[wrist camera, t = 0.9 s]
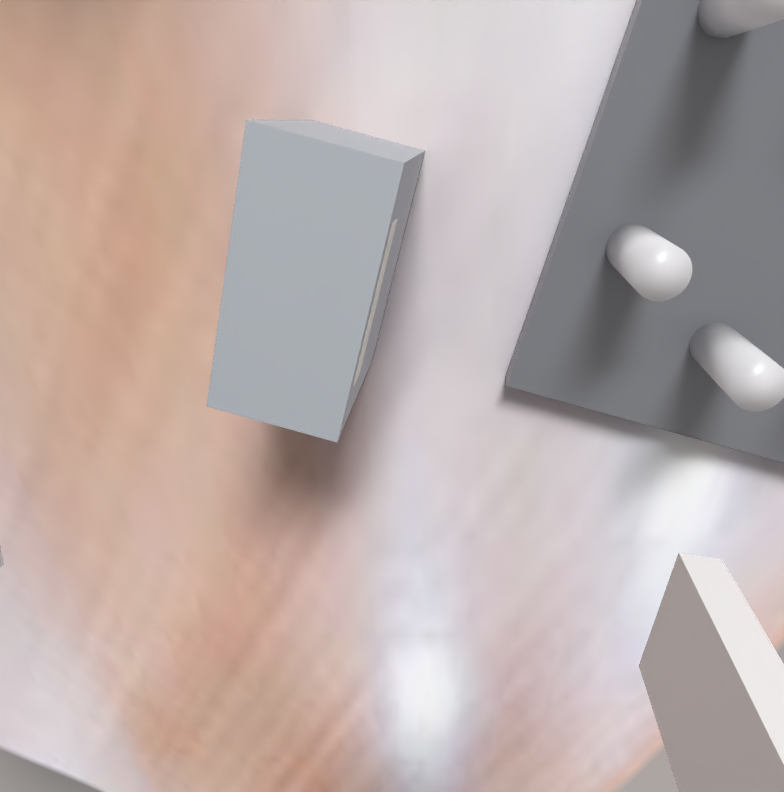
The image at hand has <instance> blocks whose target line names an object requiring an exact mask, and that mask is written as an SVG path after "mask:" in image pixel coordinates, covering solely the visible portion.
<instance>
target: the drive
mask: <svg viewBox="0 0 784 792" xmlns="http://www.w3.org/2000/svg"><path fill="white" fill-rule="evenodd" d="M424 152H425V151H424V150H421V149H417V148H413V147H410V146H406V145H402V144H398V143H395V142H391V141H387V140H384V139H380V138H376V137H373V136H369V135H365V134H362V133H358V132H354V131H351V130H347V129H343V128H340V127H336V126H332V125H329V124H325V123H321V122H318V121H314V120H246V126H245V133H244V140H243V147H242V154H241V162H240V169H239V176H238V183H237V191H236V198H235V205H234V212H233V220H232V227H231V234H230V241H229V249H228V256H227V263H226V270H225V278H224V285H223V292H222V299H221V307H220V314H219V321H218V328H217V336H216V343H215V350H214V357H213V365H212V372H211V379H210V386H209V394H208V401H207V407H211V408H214V409H218V410H221V411H225V412H229V413H232V414H236V415H239V416H243V417H247V418H250V419H254V420H257V421H261V422H265V423H268V424H272V425H276V426H279V427H283V428H286V429H290V430H294V431H297V432H301V433H304V434H308V435H312V436H315V437H319V438H323V439H326V440H330V441H333V442H338V440H339V437H340V435H341V433H342V430H343V428H344V426H345V423H346V421H347V418H348V416H349V414H350V411H351V409H352V407H353V404H354V402H355V400H356V397H357V395H358V393H359V390H360V388H361V386H362V383H363V381H364V379H365V376H366V374H367V371H368V369H369V367H370V364H371V362H372V360H373V356H374V352H375V348H376V344H377V340H378V336H379V332H380V328H381V324H382V320H383V316H384V312H385V308H386V304H387V300H388V296H389V292H390V288H391V284H392V280H393V276H394V272H395V268H396V264H397V260H398V256H399V252H400V248H401V244H402V240H403V236H404V232H405V228H406V224H407V220H408V216H409V212H410V208H411V204H412V200H413V196H414V192H415V188H416V184H417V180H418V176H419V172H420V168H421V164H422V160H423V156H424Z"/></svg>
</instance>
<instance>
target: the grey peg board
mask: <svg viewBox="0 0 784 792" xmlns="http://www.w3.org/2000/svg"><path fill="white" fill-rule="evenodd" d="M505 379H506V386H507V387H511V388H514V389H518V390H522V391H525V392H529V393H533V394H536V395H540V396H544V397H547V398H551V399H554V400H558V401H562V402H565V403H569V404H573V405H576V406H580V407H583V408H587V409H591V410H594V411H598V412H602V413H605V414H609V415H613V416H616V417H620V418H623V419H627V420H631V421H634V422H638V423H642V424H645V425H649V426H653V427H656V428H660V429H663V430H667V431H671V432H674V433H678V434H682V435H685V436H689V437H693V438H696V439H700V440H703V441H707V442H711V443H714V444H718V445H722V446H725V447H729V448H733V449H736V450H740V451H743V452H747V453H751V454H754V455H758V456H762V457H765V458H769V459H773V460H776V461H780V462H783V463H784V0H637V1H636V4H635V7H634V10H633V12H632V15H631V18H630V21H629V24H628V27H627V30H626V32H625V35H624V38H623V41H622V44H621V47H620V50H619V53H618V55H617V58H616V61H615V64H614V67H613V70H612V73H611V75H610V78H609V81H608V84H607V87H606V90H605V93H604V96H603V98H602V101H601V104H600V107H599V110H598V113H597V116H596V118H595V121H594V124H593V127H592V130H591V133H590V136H589V139H588V141H587V144H586V147H585V150H584V153H583V156H582V159H581V161H580V164H579V167H578V170H577V173H576V176H575V179H574V182H573V184H572V187H571V190H570V193H569V196H568V199H567V202H566V204H565V207H564V210H563V213H562V216H561V219H560V222H559V224H558V227H557V230H556V233H555V236H554V239H553V242H552V245H551V247H550V250H549V253H548V256H547V259H546V262H545V265H544V267H543V270H542V273H541V276H540V279H539V282H538V285H537V288H536V290H535V293H534V296H533V299H532V302H531V305H530V308H529V310H528V313H527V316H526V319H525V322H524V325H523V328H522V331H521V333H520V336H519V339H518V342H517V345H516V348H515V351H514V353H513V356H512V359H511V362H510V365H509V368H508V371H507V374H506V376H505Z"/></svg>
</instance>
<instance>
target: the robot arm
mask: <svg viewBox="0 0 784 792" xmlns="http://www.w3.org/2000/svg"><path fill="white" fill-rule="evenodd" d="M3 565H4V564H3V559H2V553H1V547H0V568H1V567H2V566H3ZM639 668H640V671H641V674H642V677H643V680H644V683H645V686H646V689H647V693H648V696H649V699H650V702H651V705H652V708H653V711H654V715H655V718H656V721H657V724H658V727H659V730H660V733H661V736H662V740H663V743H664V746H665V749H666V752H667V755H668V758H669V761H670V764H671V768H672V771H673V774H674V777H675V780H676V784H677V787H678V789H679V792H784V664H783V663H782V661H781V659H780V657H779V656H778V654H777V652H776V650H775V649H774V647H773V645H772V644H771V642H770V640H769V638H768V637H767V635H766V633H765V632H764V630H763V628H762V627H761V625H760V623H759V621H758V620H757V618H756V616H755V615H754V613H753V611H752V609H751V608H750V606H749V604H748V603H747V601H746V599H745V597H744V596H743V594H742V592H741V591H740V589H739V587H738V586H737V584H736V582H735V580H734V579H733V577H732V575H731V574H730V572H729V570H728V568H727V567H726V565H725V563H724V562H723V560H722V559H718V558H711V557H705V556H698V555H691V554H685V553H679V554H678V556H677V559H676V562H675V565H674V568H673V571H672V573H671V576H670V579H669V582H668V585H667V587H666V590H665V593H664V596H663V599H662V602H661V604H660V607H659V610H658V613H657V616H656V619H655V621H654V624H653V627H652V630H651V633H650V636H649V638H648V641H647V644H646V647H645V650H644V653H643V655H642V658H641V661H640V664H639Z"/></svg>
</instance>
